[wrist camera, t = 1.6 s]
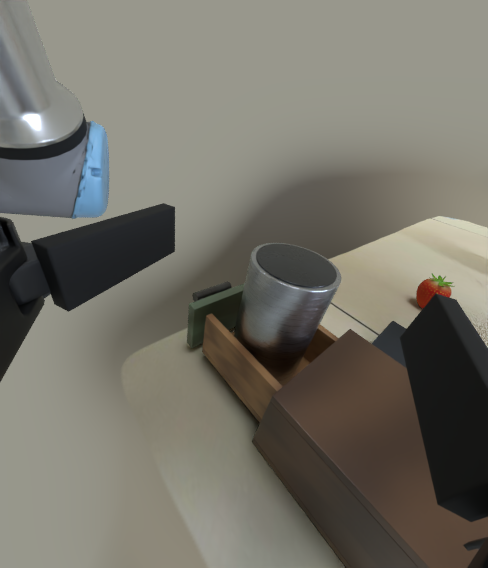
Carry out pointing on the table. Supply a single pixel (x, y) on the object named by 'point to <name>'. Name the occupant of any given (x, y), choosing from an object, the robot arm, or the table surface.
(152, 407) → the table surface
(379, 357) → the cabinet
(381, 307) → the table surface
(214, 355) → the drawer
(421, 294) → the fruit
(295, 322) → the silver cylinder
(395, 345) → the mat
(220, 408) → the table surface
